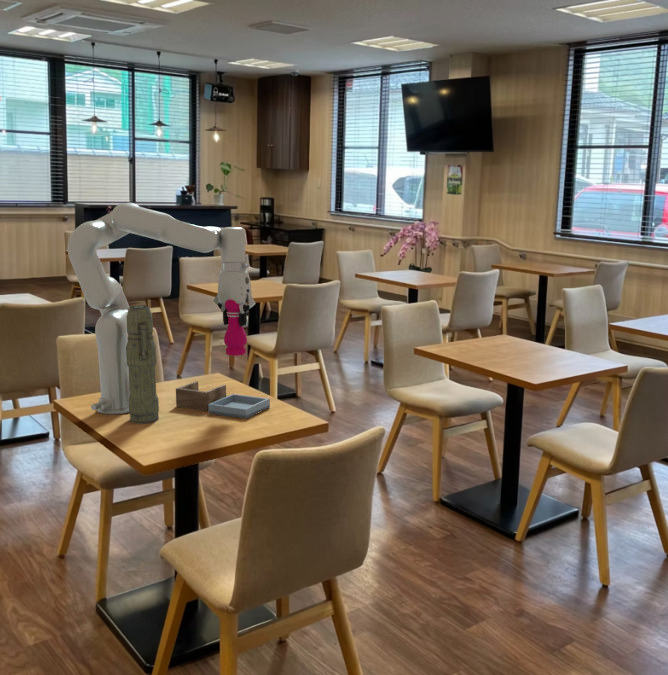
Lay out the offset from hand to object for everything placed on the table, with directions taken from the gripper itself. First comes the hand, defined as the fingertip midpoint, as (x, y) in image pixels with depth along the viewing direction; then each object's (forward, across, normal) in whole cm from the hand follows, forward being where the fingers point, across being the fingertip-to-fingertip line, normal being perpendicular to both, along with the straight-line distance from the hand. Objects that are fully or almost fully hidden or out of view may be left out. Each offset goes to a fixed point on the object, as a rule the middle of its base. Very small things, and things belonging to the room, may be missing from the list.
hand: (234, 324), depth 253 cm
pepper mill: (+10, 0, 0) cm, 10 cm away
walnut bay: (+27, +13, 0) cm, 30 cm away
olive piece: (+28, +20, +22) cm, 40 cm away
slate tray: (+27, -2, +2) cm, 28 cm away
